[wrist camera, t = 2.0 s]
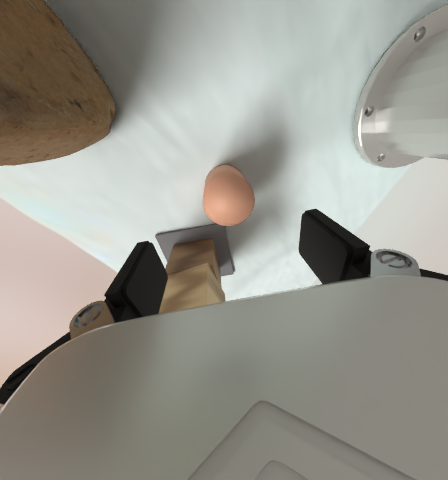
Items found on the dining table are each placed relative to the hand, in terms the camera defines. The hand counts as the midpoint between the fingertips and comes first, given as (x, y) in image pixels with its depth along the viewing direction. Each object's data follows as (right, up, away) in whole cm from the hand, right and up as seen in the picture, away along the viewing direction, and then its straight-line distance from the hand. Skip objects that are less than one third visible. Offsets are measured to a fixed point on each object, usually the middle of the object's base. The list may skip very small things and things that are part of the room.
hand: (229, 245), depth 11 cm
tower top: (-4, -6, +11) cm, 13 cm away
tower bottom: (-4, -2, +16) cm, 17 cm away
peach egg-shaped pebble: (0, +7, +11) cm, 13 cm away
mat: (-4, -2, +16) cm, 17 cm away
